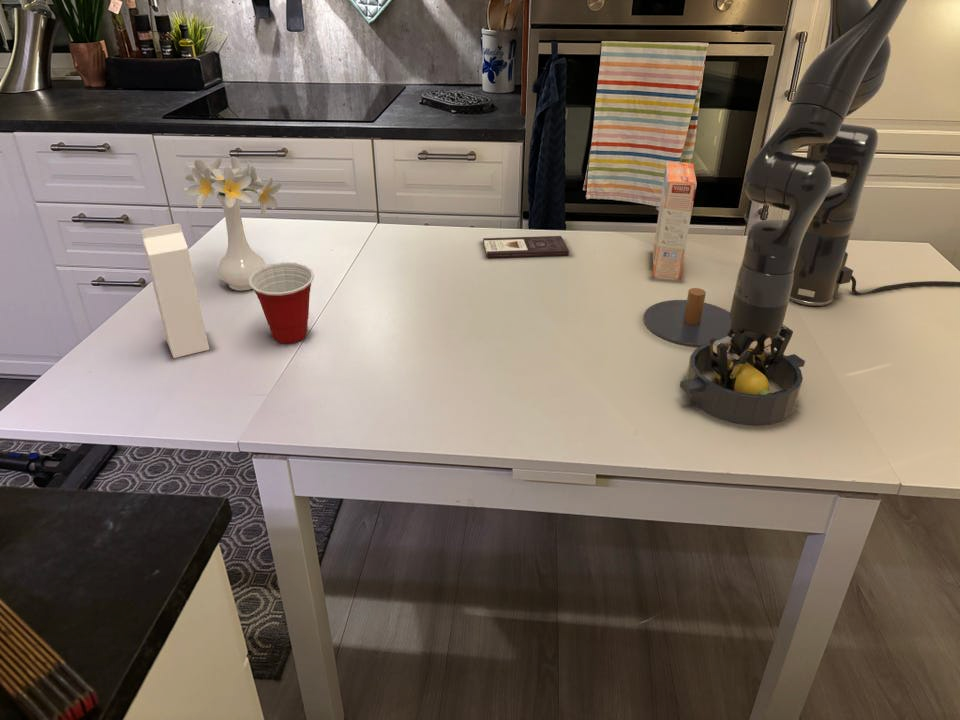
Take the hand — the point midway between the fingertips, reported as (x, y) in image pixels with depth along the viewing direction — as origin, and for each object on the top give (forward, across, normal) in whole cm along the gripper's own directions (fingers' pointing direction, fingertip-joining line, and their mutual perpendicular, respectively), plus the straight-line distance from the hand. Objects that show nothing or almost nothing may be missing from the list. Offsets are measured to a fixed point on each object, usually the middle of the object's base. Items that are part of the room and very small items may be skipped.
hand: (739, 390), depth 116 cm
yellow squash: (0, 0, 0) cm, 0 cm away
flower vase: (+1, -66, +70) cm, 96 cm away
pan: (+1, 0, 0) cm, 1 cm away
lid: (+1, +7, +22) cm, 23 cm away
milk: (+1, -79, +48) cm, 93 cm away
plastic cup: (+1, -62, +45) cm, 77 cm away
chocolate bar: (+1, -6, +66) cm, 66 cm away
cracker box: (+1, +18, +46) cm, 49 cm away
